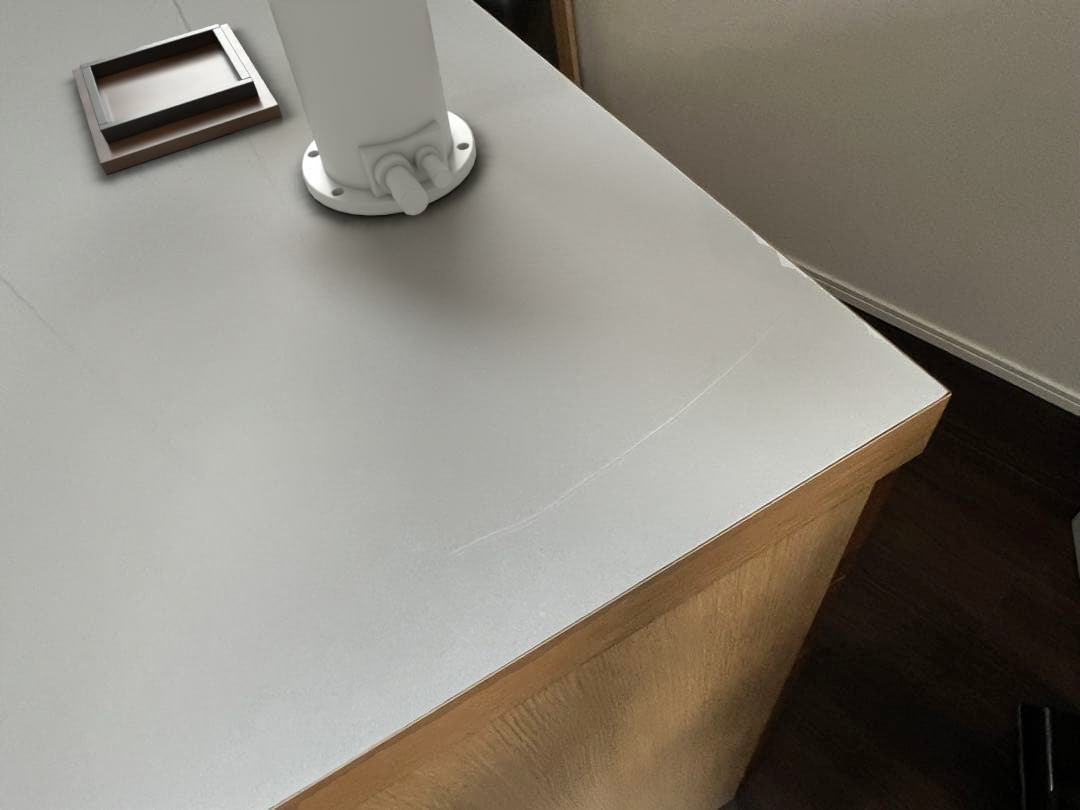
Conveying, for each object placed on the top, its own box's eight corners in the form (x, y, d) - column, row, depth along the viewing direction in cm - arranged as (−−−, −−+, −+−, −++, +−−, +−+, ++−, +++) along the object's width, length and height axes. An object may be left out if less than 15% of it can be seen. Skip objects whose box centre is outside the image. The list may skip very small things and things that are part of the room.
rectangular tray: (282, 116, 65) (273, 90, 63) (106, 174, 62) (91, 149, 60) (231, 33, 75) (222, 9, 73) (77, 80, 72) (64, 56, 70)
